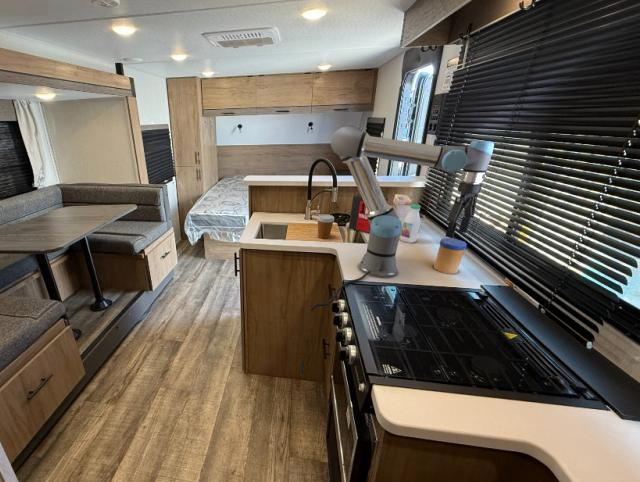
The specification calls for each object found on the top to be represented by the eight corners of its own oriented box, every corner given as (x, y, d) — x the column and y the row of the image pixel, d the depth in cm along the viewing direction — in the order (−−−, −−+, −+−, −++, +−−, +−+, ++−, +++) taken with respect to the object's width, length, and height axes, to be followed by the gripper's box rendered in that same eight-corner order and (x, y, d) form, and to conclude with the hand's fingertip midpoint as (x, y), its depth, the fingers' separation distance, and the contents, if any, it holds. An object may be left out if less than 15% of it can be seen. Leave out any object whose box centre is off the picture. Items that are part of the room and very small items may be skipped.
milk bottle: (412, 238, 172) (420, 203, 164) (418, 243, 165) (427, 207, 157) (397, 237, 173) (405, 203, 164) (403, 242, 166) (411, 207, 157)
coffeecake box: (388, 224, 194) (394, 194, 186) (400, 225, 192) (407, 194, 184) (391, 232, 181) (398, 199, 173) (405, 233, 179) (412, 200, 171)
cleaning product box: (348, 228, 187) (353, 196, 179) (355, 225, 193) (360, 193, 185) (375, 235, 177) (381, 201, 169) (381, 231, 182) (388, 198, 174)
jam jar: (451, 275, 131) (459, 248, 126) (429, 267, 138) (437, 241, 133) (461, 270, 135) (469, 244, 130) (440, 263, 142) (447, 237, 137)
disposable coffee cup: (325, 241, 168) (328, 220, 163) (311, 236, 175) (313, 216, 170) (335, 237, 174) (338, 216, 169) (321, 232, 181) (323, 213, 176)
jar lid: (458, 252, 126) (460, 247, 126) (435, 244, 134) (436, 240, 133) (469, 247, 131) (471, 243, 130) (446, 240, 138) (447, 236, 138)
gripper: (467, 187, 113) (451, 242, 122) (495, 180, 124) (478, 231, 133) (446, 184, 119) (432, 237, 128) (474, 178, 130) (459, 227, 139)
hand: (455, 234), depth 130 cm, fingers open, 10 cm apart
